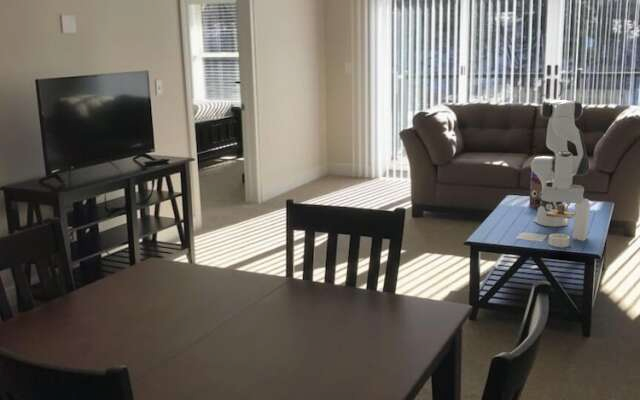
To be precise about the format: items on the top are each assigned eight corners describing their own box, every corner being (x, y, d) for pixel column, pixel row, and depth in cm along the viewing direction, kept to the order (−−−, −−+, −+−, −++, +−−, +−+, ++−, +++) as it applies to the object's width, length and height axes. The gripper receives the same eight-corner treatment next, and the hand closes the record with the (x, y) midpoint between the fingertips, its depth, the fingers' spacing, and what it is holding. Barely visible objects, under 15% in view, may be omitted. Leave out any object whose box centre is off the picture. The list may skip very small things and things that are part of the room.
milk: (576, 236, 373) (578, 196, 368) (587, 238, 369) (590, 198, 364) (572, 239, 368) (575, 198, 363) (584, 240, 364) (587, 200, 360)
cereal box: (529, 206, 441) (531, 169, 436) (531, 205, 445) (533, 168, 439) (557, 209, 432) (559, 172, 427) (559, 208, 436) (561, 170, 431)
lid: (551, 211, 362) (552, 201, 360) (575, 213, 355) (576, 204, 354) (545, 216, 352) (546, 206, 350) (570, 218, 345) (571, 209, 344)
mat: (522, 232, 381) (522, 232, 381) (548, 236, 374) (548, 235, 374) (514, 238, 370) (515, 238, 370) (541, 242, 363) (541, 241, 362)
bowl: (551, 242, 364) (551, 232, 363) (570, 244, 359) (571, 235, 358) (546, 246, 356) (547, 237, 354) (566, 249, 351) (567, 239, 350)
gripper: (585, 184, 347) (583, 211, 350) (544, 180, 358) (542, 206, 361) (583, 186, 342) (581, 213, 345) (541, 182, 352) (539, 209, 356)
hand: (561, 210), depth 353 cm, fingers closed on lid, 3 cm apart
